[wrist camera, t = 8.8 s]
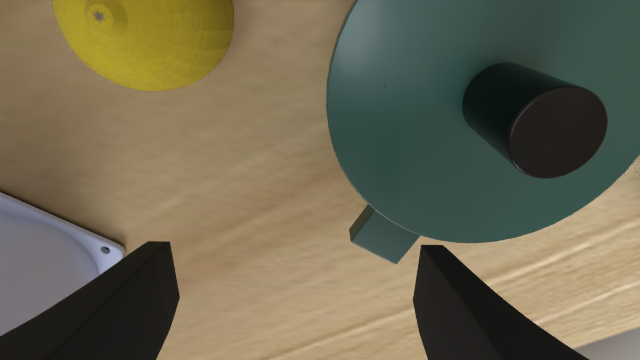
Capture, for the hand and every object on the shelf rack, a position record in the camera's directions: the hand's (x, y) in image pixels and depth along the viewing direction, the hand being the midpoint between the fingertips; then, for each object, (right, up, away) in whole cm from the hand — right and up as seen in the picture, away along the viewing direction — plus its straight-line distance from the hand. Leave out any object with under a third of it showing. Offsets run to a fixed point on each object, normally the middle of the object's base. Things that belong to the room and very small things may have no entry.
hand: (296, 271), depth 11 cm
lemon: (-5, +11, +7) cm, 14 cm away
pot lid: (+6, +5, +2) cm, 9 cm away
